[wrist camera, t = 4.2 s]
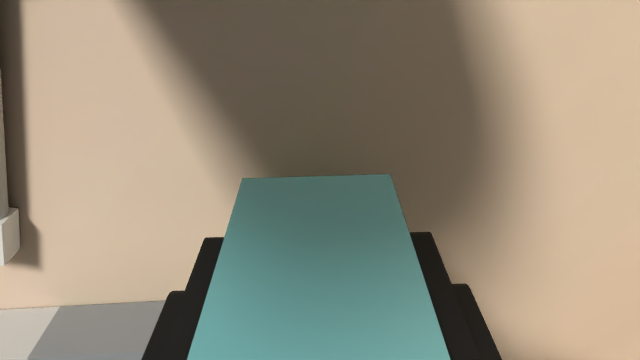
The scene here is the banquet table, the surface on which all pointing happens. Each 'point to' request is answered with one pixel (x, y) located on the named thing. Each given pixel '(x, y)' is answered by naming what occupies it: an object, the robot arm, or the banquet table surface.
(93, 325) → the socket plate
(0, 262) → the cable
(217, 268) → the block
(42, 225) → the banquet table surface
